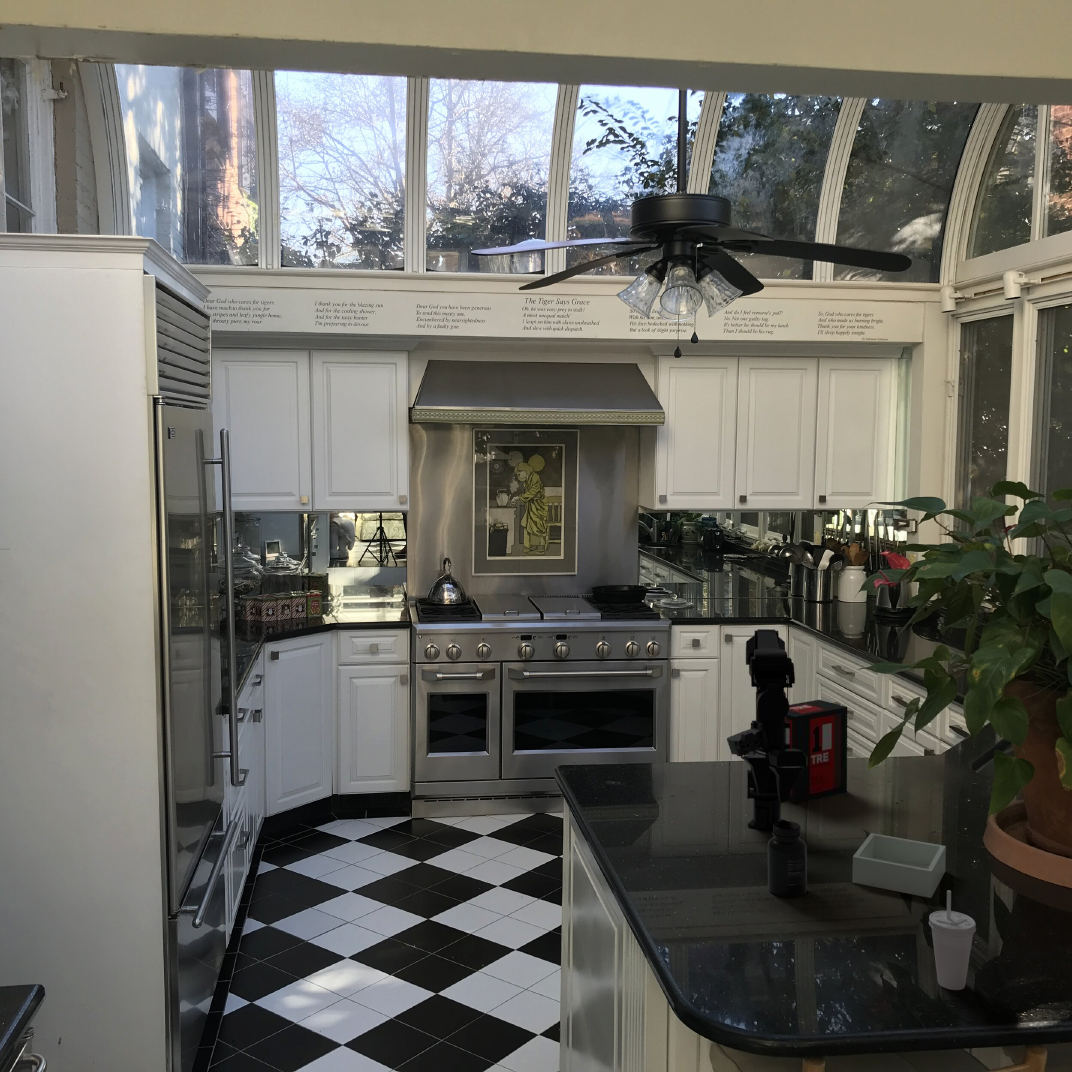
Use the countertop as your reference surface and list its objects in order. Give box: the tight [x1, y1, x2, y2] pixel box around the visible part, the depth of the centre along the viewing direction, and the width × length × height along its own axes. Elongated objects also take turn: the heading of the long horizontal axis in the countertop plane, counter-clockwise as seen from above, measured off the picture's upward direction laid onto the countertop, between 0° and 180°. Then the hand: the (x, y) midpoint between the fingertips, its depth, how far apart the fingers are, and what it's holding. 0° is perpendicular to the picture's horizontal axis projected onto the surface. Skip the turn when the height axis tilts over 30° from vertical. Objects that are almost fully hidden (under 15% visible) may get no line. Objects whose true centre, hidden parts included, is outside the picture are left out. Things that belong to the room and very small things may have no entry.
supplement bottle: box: [767, 820, 808, 898], centre depth 182 cm, size 7×7×12 cm
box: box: [852, 832, 947, 899], centre depth 187 cm, size 14×14×5 cm
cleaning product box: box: [786, 699, 848, 805], centre depth 235 cm, size 16×9×20 cm, turn 120°
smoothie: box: [928, 889, 977, 991], centre depth 149 cm, size 6×6×14 cm
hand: (771, 798), depth 196 cm, fingers open, 9 cm apart
